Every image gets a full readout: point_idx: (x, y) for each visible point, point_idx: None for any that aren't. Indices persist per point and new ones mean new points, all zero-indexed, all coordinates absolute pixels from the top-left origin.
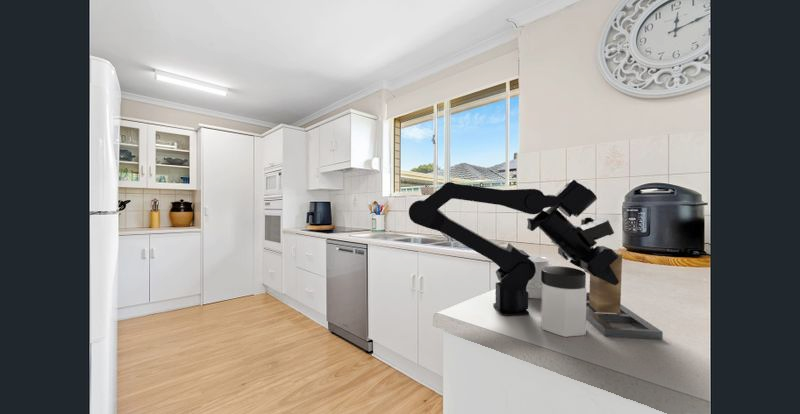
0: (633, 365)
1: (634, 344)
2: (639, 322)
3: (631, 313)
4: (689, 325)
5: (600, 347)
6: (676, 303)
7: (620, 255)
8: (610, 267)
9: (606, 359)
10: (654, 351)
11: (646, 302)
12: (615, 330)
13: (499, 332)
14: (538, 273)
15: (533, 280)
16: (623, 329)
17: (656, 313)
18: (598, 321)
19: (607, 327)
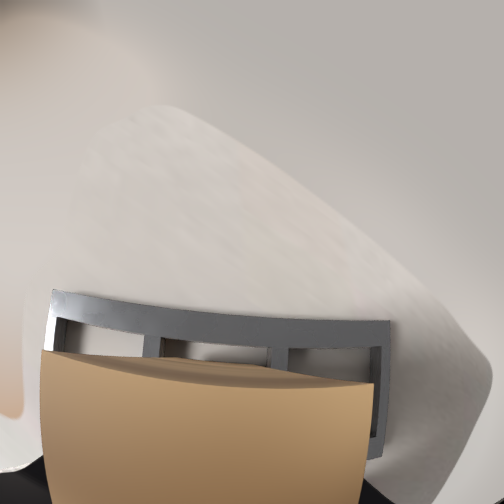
0: (459, 425)
1: (404, 400)
2: (336, 347)
3: (260, 329)
4: (278, 193)
5: (412, 467)
6: (131, 127)
7: (364, 404)
8: (365, 480)
9: (444, 461)
10: (426, 372)
11: (109, 185)
12: (383, 433)
13: None
14: None
15: None
16: (385, 415)
17: (193, 214)
18: None
19: (374, 449)
